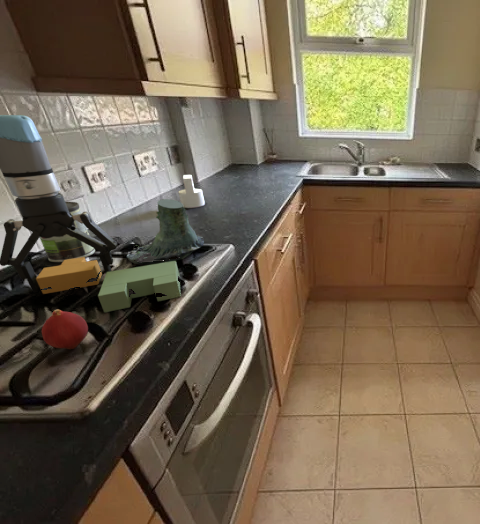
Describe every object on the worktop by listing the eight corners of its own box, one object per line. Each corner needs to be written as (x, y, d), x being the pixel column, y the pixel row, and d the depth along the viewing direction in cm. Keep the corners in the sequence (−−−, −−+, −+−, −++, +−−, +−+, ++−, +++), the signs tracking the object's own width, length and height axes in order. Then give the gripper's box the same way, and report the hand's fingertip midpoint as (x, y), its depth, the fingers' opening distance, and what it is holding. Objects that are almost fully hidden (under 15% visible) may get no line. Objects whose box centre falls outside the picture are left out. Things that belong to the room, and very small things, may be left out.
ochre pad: (43, 294, 74) (35, 278, 72) (54, 276, 82) (48, 262, 80) (98, 284, 79) (92, 269, 77) (104, 268, 86) (99, 254, 84)
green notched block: (104, 312, 68) (97, 296, 66) (111, 287, 77) (106, 272, 76) (180, 296, 74) (176, 281, 73) (179, 274, 84) (175, 260, 82)
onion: (50, 347, 58) (31, 308, 55) (91, 333, 62) (75, 296, 58) (53, 363, 54) (33, 324, 51) (96, 348, 58) (80, 309, 55)
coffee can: (68, 264, 88) (47, 213, 82) (38, 260, 90) (16, 209, 84) (104, 250, 97) (88, 202, 91) (77, 246, 99) (59, 200, 93)
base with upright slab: (205, 206, 140) (199, 177, 135) (181, 208, 137) (174, 179, 131) (204, 201, 147) (199, 174, 142) (181, 203, 144) (175, 175, 139)
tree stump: (158, 240, 106) (159, 185, 99) (217, 258, 105) (222, 205, 98) (109, 260, 89) (106, 197, 82) (179, 283, 88) (181, 221, 81)
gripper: (-57, 206, 61) (-4, 303, 70) (108, 192, 72) (136, 278, 81) (-38, 197, 67) (10, 288, 76) (112, 185, 78) (138, 266, 87)
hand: (75, 283), depth 79 cm, fingers open, 13 cm apart
